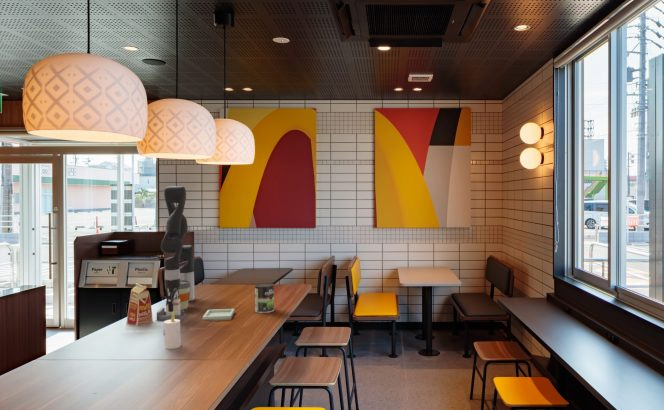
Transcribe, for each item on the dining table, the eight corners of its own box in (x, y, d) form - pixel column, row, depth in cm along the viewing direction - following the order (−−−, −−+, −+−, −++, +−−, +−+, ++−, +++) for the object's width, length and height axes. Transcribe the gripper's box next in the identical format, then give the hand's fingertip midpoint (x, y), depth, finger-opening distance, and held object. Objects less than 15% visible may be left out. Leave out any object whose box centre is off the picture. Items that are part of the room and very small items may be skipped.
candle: (164, 344, 180) (163, 309, 180) (180, 342, 182) (179, 307, 182) (163, 349, 174) (163, 313, 174) (180, 347, 177) (180, 311, 176)
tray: (207, 313, 229) (207, 309, 229) (234, 312, 230) (234, 308, 230) (202, 321, 215) (202, 317, 215) (230, 319, 216) (230, 315, 216)
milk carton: (126, 325, 210) (125, 284, 209) (142, 320, 218) (141, 281, 218) (138, 327, 206) (137, 285, 205) (154, 322, 214) (153, 282, 213)
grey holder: (161, 316, 225) (161, 307, 225) (187, 315, 226) (186, 306, 226) (155, 322, 214) (154, 312, 214) (181, 321, 215) (181, 311, 215)
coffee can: (278, 310, 233) (277, 284, 233) (264, 314, 225) (263, 287, 225) (265, 307, 240) (264, 282, 239) (251, 311, 231) (250, 285, 231)
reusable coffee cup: (194, 306, 244) (194, 280, 244) (185, 312, 232) (184, 284, 232) (173, 306, 246) (173, 280, 245) (162, 311, 233) (162, 284, 233)
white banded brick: (168, 316, 222) (168, 299, 222) (180, 315, 222) (180, 298, 222) (166, 318, 218) (165, 301, 218) (178, 318, 218) (178, 300, 218)
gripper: (169, 275, 226) (169, 306, 227) (160, 280, 212) (161, 313, 212) (183, 275, 227) (184, 305, 227) (176, 280, 213) (177, 312, 213)
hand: (173, 309), depth 220 cm, fingers open, 8 cm apart
